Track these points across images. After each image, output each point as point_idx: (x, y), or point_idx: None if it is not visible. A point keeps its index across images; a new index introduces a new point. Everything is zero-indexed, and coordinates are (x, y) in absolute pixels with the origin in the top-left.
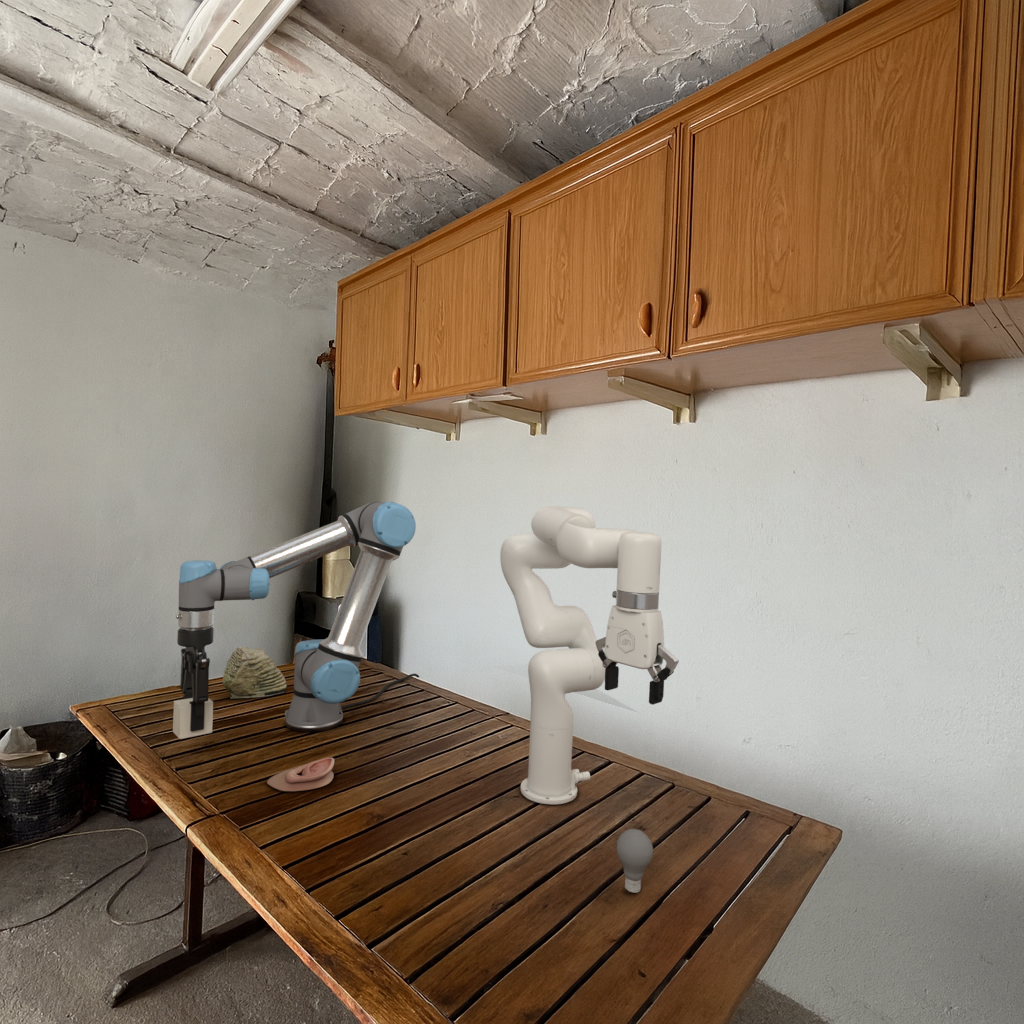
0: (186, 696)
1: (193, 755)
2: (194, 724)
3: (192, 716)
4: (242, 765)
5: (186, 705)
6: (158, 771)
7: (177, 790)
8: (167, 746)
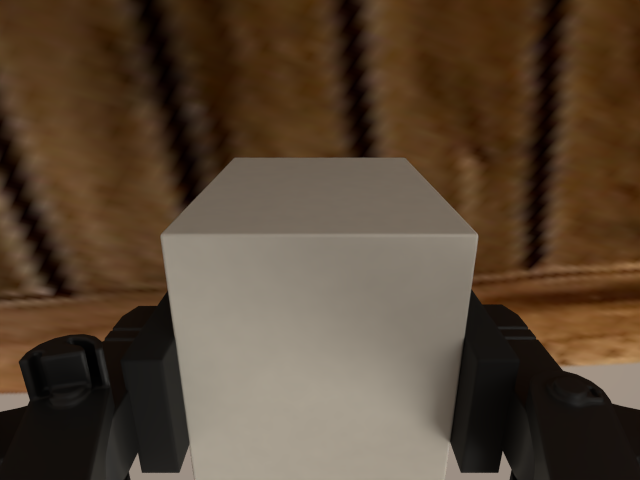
0: (180, 445)
1: None
2: None
3: None
4: (522, 12)
5: (415, 470)
6: None
7: (560, 313)
8: (75, 238)
